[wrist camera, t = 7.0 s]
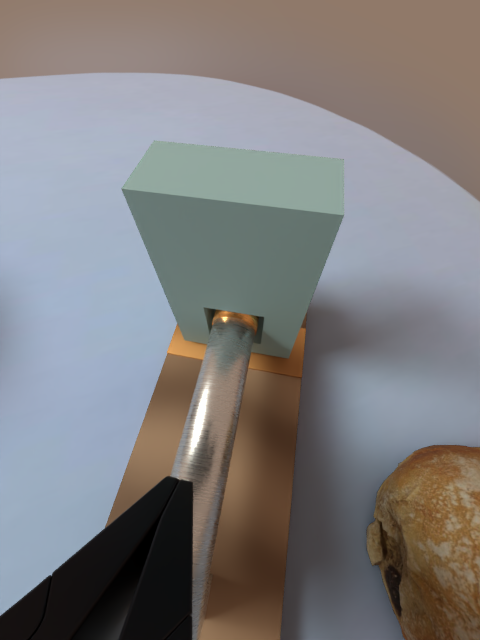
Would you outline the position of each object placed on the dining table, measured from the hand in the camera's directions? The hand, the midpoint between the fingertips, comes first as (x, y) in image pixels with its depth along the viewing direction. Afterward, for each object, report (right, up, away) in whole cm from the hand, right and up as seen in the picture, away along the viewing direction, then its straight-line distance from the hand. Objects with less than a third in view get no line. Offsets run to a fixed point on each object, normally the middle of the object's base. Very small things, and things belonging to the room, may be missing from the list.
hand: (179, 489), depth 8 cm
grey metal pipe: (+1, 0, +8) cm, 8 cm away
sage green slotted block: (+2, +4, +10) cm, 11 cm away
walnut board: (+1, -1, +9) cm, 9 cm away
